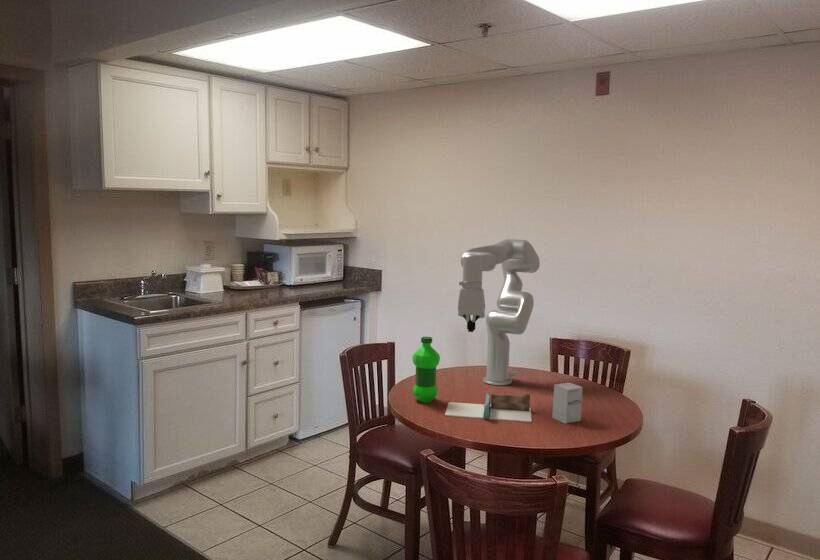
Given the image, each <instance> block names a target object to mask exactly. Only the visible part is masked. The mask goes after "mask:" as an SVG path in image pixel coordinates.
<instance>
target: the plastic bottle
mask: <svg viewBox="0 0 820 560" xmlns="http://www.w3.org/2000/svg"><path fill="white" fill-rule="evenodd" d="M420 343H421V345H422V346H421V347H419V349H417V350H416V351H415V352H414V353H413V355H412V363H413V365H414V366H415V383H414V386H413V388H412V393H413V396H414V397H415V398H416V399H417V400H418V401H419V402H420V401H421V403H431V402H432V401H434V399H435V398H436V397H437V395H438V393H439V389H438V385H437V384H436V383H437V367H438V366H439V364H440V360H441V357H440V356H441V355H440V353H439V352H437V350H436V349H434V348H433V346H432V343H433V337H431V336H421V338H420ZM430 401H431V402H430Z"/></svg>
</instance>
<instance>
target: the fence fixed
mask: <svg viewBox="0 0 820 560" xmlns="http://www.w3.org/2000/svg"><path fill="white" fill-rule="evenodd" d="M530 404H531V394H530V393H525V394H524V395H516V394H499V393H490V405H491V408H500V409H514V410H525V411H529V408H531V407H530V406H531V405H530Z"/></svg>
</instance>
